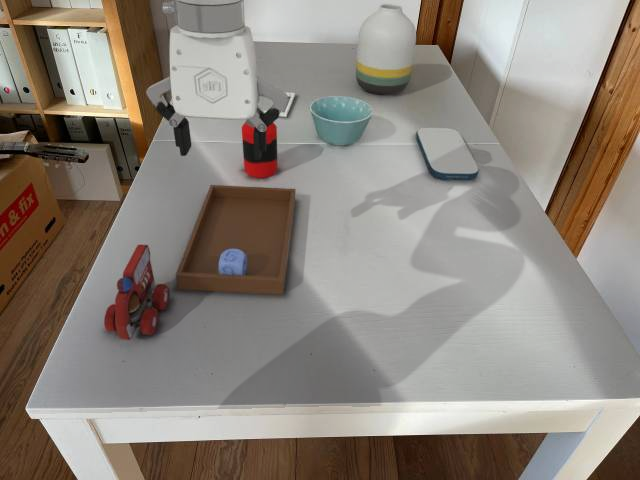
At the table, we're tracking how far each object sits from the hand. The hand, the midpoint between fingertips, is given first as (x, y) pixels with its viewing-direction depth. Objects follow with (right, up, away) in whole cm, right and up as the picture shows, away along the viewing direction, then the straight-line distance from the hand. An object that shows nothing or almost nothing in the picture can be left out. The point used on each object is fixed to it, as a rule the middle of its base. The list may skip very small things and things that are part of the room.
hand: (222, 153), depth 66 cm
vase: (+32, +36, +89) cm, 102 cm away
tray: (-1, -12, +28) cm, 30 cm away
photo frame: (-4, +28, +77) cm, 82 cm away
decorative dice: (-2, -18, +19) cm, 26 cm away
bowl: (+18, +15, +62) cm, 66 cm away
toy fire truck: (-15, -24, +12) cm, 31 cm away
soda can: (-1, +4, +48) cm, 48 cm away
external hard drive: (+44, +9, +56) cm, 72 cm away
